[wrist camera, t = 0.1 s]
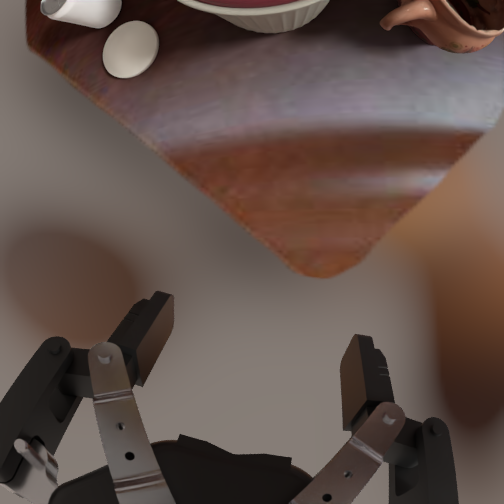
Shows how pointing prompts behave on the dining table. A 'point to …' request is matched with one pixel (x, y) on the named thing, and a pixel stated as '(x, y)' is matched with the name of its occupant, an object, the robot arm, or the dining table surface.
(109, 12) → the can
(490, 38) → the decorative planter
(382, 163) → the dining table surface
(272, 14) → the canister
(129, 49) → the cream saucer
